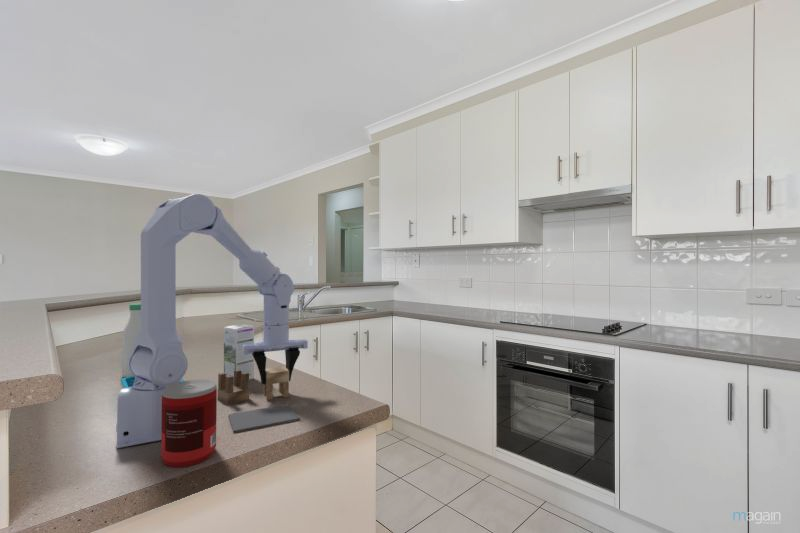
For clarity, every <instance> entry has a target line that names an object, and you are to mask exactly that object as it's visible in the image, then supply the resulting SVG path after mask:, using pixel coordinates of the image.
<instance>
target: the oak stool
mask: <svg viewBox="0 0 800 533" xmlns="http://www.w3.org/2000/svg"><path fill="white" fill-rule="evenodd" d="M289 382H290V381H289V370H288V369H287V368H286V365H282V366H276V367H275V366H274V367H266V384H264V385H263V384H262V385H263V386H262V387H263V396H266V397H265V399H266V400H267V401H268V400H273V399H274V398H273V393H274V390H273V387H274V386H273V385H274V384H278V392H279V393H280V394H281V397H282V398H287V397H289V396H290V395H289V394H290V390H289V389H290V388H289V386H290V385H289Z"/></svg>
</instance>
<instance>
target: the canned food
mask: <svg viewBox="0 0 800 533" xmlns="http://www.w3.org/2000/svg"><path fill="white" fill-rule="evenodd" d="M217 398H218V387H217V383H216V382H215V381H213V380H211V379H189V380H184V381H183V382H178V383H174V384H171V385H169V386H167V387H165V388H164V389H163V391H162V431H161V440H160V441H161V442H160V443H161V445H160V447H161V448H160V449H161V455H160V457H161V459H162V462H163V464H164V465H165V466H167V467H172V468H185V467H190V466H194V465H199V463H202V462H204V461H206V460H207V459H209V458H211V457H212V456H213V454H214V453H215V451H216V446H217V409H218V408H217V405H218V404H217V401H218V400H217Z"/></svg>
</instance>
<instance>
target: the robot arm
mask: <svg viewBox="0 0 800 533" xmlns="http://www.w3.org/2000/svg"><path fill="white" fill-rule="evenodd" d="M191 233H195V234H202V235H206V236H211V237H212V238H213V239H215V240H216V241H217V242H218V243H219V244H220V245H221V246H223V247H224V248H225V249H226V250H227V251H228V252H229V253H231V254H232V255H233V256H234V257H235V258H236V259H237V260H239V264H238V266H239V269H240V270H241V271H242V272H244V274H245V275H246V276H248V277H249V278H250V279H251V281H253V282H254V283H255V284H256V285H257V290H258V292H259V294H260V295H263V327H262V328H263V330H262V331H263V333H262V334H263V335H262V336H263V340H262V342H254V344H247V345H243V354H244V355H247V354H250V353H252V355H253V357H254V363H256V367H257V369H258V373H259V375H260V383H261V384H262V385H264V384H266V368H267V367H266V366H267V356H266V353H267V352H268V353H269V352H280V351H284V354H285V367H286V368H287V369H288V370H289V382H290V381H292V380H291V379H292V378H291V377H292V373H293V371H294V368H295V365H296V362H297V360H298V359H299V357H300V354H301V351H300V349H303V350H306V349H309V348H308V345H309V344H308V340H307V339H304V338H303V339H290V332H289V331H290V325H289V324H290V303H291V298H292V295H293V293H294V291H295V287H296V285H295V284H294V282H293V280H292V278H291V277H290V275H288V274H286V273H282V272H281V271H280V268H279V267H278V266H275V264H274V263H272V261H271V260H270V259H269V258H268V257H267V256H268V254H267V253H266V252H265V251H261V250H259V249H252V248H251V247H250V246H249V245H248V244H247V243H246V241H245V240H244V238H242V237H241V235H239V233H238V232H237V231H236V230H235V228H234V227H233V226H232V225H231V224H230V222H229V221H227V219H226V218H225V216H224V214H223V212H222V210H221V209H220V208H219V207H218V206H216V205H215V203H214V202H213V201H212V199H210V197H208V196H207V195H204V194H201V193H194V194H190V195H187V196H184V197H179V198H171V199H168V200H166V201H165V202H162V203H161V204H159V205H157V206H156V207H155V211H154V213H153V214H152V216H151V217H150V219H149V220H148V222H147V223H146V224H145V225H144V227H143V228H142V229H141V233H140V303H141V332H140V333H139V335H138V336H137V337H136V338H135V340H134V349H133V352H132V354H131V356H130V357H129V360H128V368H129V371H130V372H131V373H132V374H133V375H134V376H135V380H134V383H133V387H129V388H120V389H119V392H118V396H117V404H116V405H117V408H116V426H115V427H116V445H115V447H116V448H117V449H121V448H125V447H130V446H131V447H132V446H136V445H141V444H146V443H152V442H158V441H161V431H162V391H163V389H164V388H165V387H167V386H169V385H171V384H174V383H178V382H181V378H182V379H183V378H184V376H185V375H186V372H187V370H188V366H189V362H188V358H187V356H186V354H185V353H184V350H183V341H182V339H181V337H180V335H179V333H178V331H177V330H176V329H177V328H176V318H177V317H176V315H177V314H176V312H177V310H176V309H177V308H176V306H177V305H176V302H177V300H176V298H177V297H176V295H177V294H176V290H177V289H176V267H177V266H176V263H177V262H176V258H177V257H176V255H177V254H176V249H177V248H176V246H177V244H178V243H179V242H180V241H182V240H183V239H184V238H185V237H187V236H189V235H190V234H191Z"/></svg>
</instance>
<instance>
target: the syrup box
mask: <svg viewBox="0 0 800 533" xmlns="http://www.w3.org/2000/svg"><path fill="white" fill-rule="evenodd" d="M254 343H255V326H254V325H247V324H232V325H228V326H224V327H223V373H226V376H234V370H241V373H245V372H247V373H249V381H250V380H253V379H255V359H254V357H253V355H252V353H250V354H247V355H244V354H243V345H247V344H254ZM233 383H234V380H233Z"/></svg>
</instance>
